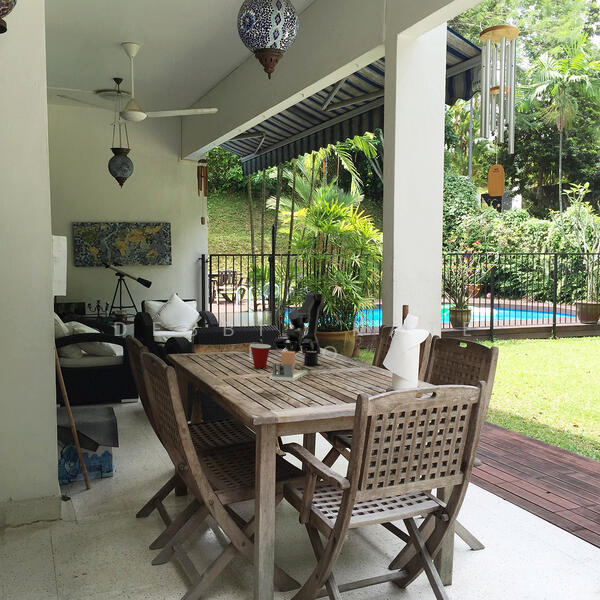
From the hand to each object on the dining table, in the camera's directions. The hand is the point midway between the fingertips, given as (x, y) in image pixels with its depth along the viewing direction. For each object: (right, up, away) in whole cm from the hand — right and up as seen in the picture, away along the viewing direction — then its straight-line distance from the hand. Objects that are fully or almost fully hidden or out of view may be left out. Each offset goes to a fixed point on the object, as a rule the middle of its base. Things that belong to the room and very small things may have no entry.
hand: (289, 357), depth 309 cm
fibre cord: (-1, -7, -1) cm, 7 cm away
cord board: (0, -9, 0) cm, 9 cm away
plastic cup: (-15, -7, +23) cm, 29 cm away
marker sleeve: (-1, -7, -1) cm, 7 cm away
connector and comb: (-3, -8, -7) cm, 11 cm away
